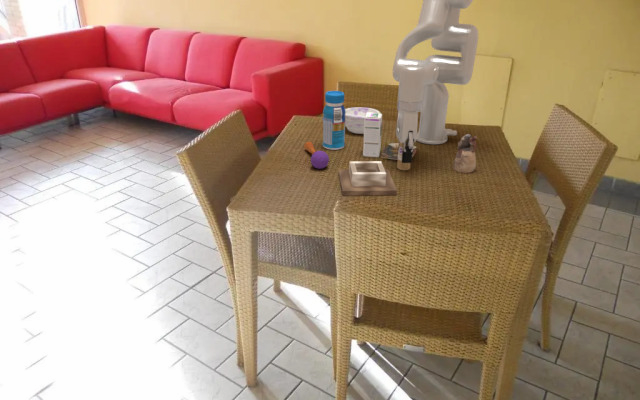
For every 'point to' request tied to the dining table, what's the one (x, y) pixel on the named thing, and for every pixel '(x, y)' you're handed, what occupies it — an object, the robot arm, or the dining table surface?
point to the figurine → (465, 155)
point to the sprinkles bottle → (401, 165)
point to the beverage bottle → (334, 121)
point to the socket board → (366, 179)
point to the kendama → (317, 156)
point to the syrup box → (372, 134)
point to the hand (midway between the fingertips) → (404, 158)
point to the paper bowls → (357, 118)
